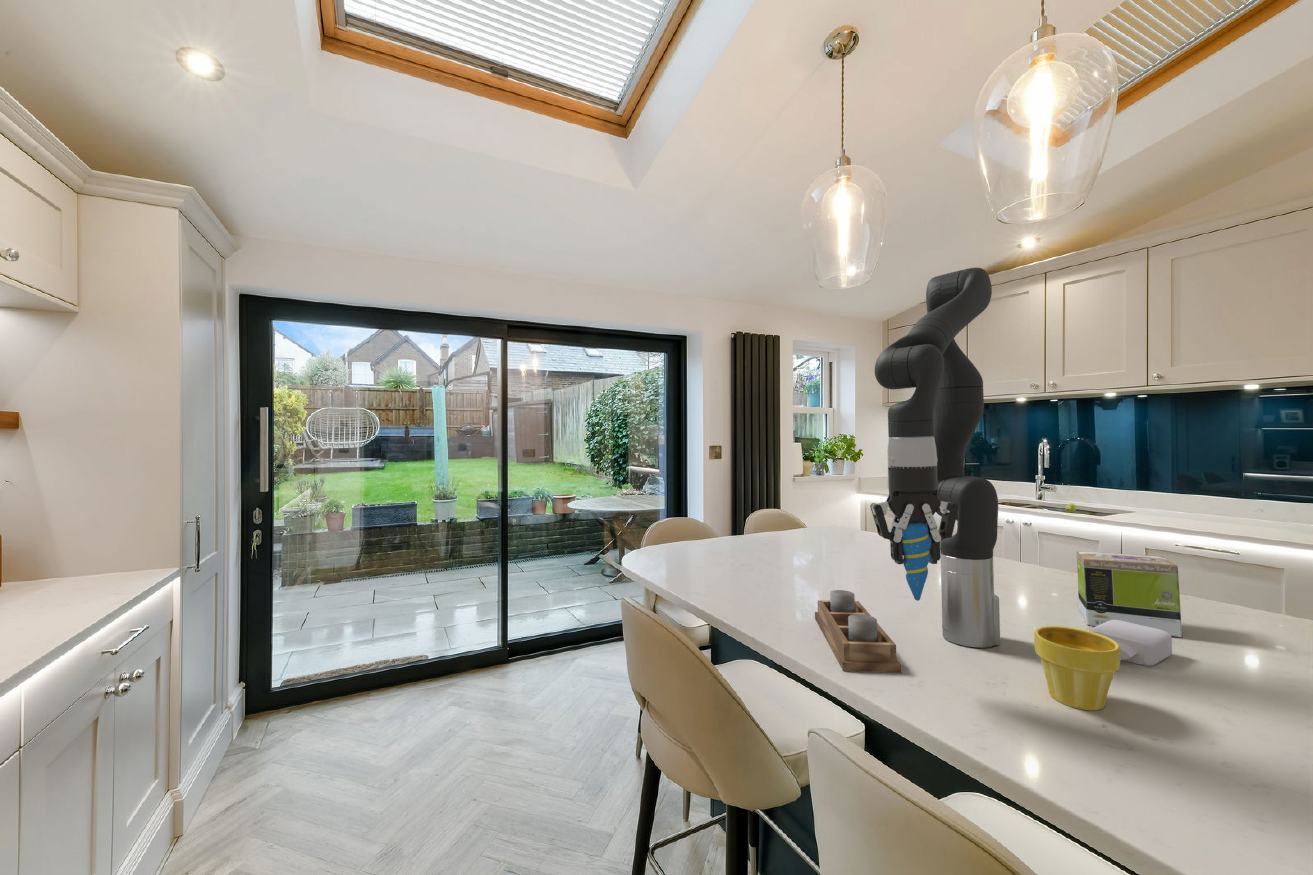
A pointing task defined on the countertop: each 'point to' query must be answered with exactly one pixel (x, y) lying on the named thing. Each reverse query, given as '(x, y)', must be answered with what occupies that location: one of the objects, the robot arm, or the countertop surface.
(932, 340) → the robot arm
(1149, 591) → the tea box
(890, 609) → the countertop surface
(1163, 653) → the charger
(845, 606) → the wooden compartment tray
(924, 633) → the countertop surface
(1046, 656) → the plant pot
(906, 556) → the ornament
